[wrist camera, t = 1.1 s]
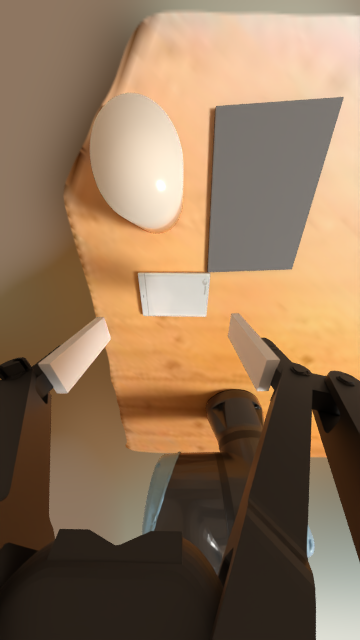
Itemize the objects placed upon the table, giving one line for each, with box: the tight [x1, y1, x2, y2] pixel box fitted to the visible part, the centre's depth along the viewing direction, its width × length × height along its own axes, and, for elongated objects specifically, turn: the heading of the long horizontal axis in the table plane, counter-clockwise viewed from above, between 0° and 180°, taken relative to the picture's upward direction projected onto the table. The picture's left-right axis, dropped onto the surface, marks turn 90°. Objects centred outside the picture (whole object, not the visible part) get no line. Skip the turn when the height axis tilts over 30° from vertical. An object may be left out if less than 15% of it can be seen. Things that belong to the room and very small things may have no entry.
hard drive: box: [138, 272, 210, 317], centre depth 26 cm, size 2×8×12 cm
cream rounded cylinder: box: [90, 93, 183, 234], centre depth 16 cm, size 8×8×9 cm
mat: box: [207, 97, 344, 272], centre depth 20 cm, size 18×14×1 cm
